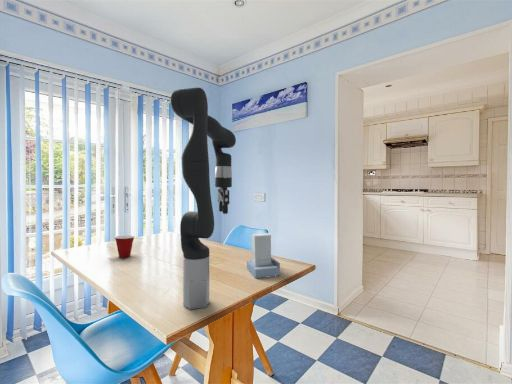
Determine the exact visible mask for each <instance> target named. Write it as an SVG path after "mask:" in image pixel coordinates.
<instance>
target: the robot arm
mask: <svg viewBox="0 0 512 384" xmlns="http://www.w3.org/2000/svg"><path fill="white" fill-rule="evenodd" d="M170 106H171V108H172V111H173V113H175V115H176V116H177V117H179V118H181V119H182V120H184V121H186V122H187V123H189V124H191V125H192V131H191V134H190V136H189V138H188V141H187V142H186V145H185V147H184V148H183V151H182V154H181V168H182V169H181V172H182V177H183V180H184V182H185V184H186V185H187V187H188V188H189V190H190V192H191V194H192V195H193V197H194V199H195V203H196V208H197V209H196V210H197V211H192V210H191V211H186V212H184V213H183V215H182V216H181V219H180V226H179V228H180V229H179V232H180V247H181V251H182V256H183V257H182V259H183V261H182V263H183V265H182V266H183V267H182V270H183V273H182V274H183V277H182V278H183V284H182V286H183V287H182V290H183V291H182V293H183V299H182V300H183V302H182V303H183V306H184V307H185V308H187V309H188V310H196V309H203V308H207V307H208V305H209V303H210V248H209V247H208V246H207V245H206V244H204V243H203V242H202V241H201V240H200V239H209V238H211V237H212V236H213V234H214V230H215V216H214V210H213V201H212V194H211V183H210V182H211V180H210V158H209V149H208V148H209V146H208V138H210V139H211V144H212V147H213V151H214V156H215V169H214V170H215V171H214V187H215V188H218V189H217V202H218V208H219V209H218V212H221V213H222V214H224V215H226V214H229V205H230V190H229V189H228V188H232V187H233V185H232V184H233V179H232V178H233V171H232V155H231V154H230V153H227V152H224V151H223V150H222V149H230V148H233V147H235V145H236V142H237V140H236V136H235V134H234V132H232V130H230V129H228V128H226V127H224V126H222V124H221V123H220V122H219V121H218V120H217V119H216V118H214V117H212V116H211V115H209V114H208V112H209V111H208V110H209V106H208V97H207V94H206V92H205V90H204V89H203V88H202V87H189V88H188V87H187V88H182V89H181V88H180V89H176V90H174V91H173V92H172V93H171V96H170Z"/></svg>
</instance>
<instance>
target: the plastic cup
mask: <svg viewBox="0 0 512 384" xmlns="http://www.w3.org/2000/svg"><path fill="white" fill-rule="evenodd" d="M113 237H114V239H115V243H116V249H117V253H118V257H119V258H121V259H124V258H129V257H130V256H131V254H132V248H133V243H134V239H135V238H136V236H135V235H128V234H126V235H117V236H113Z"/></svg>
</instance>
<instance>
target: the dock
mask: <svg viewBox="0 0 512 384" xmlns="http://www.w3.org/2000/svg"><path fill="white" fill-rule="evenodd" d="M280 264H281V263H280V262H279V261H277V260H276V259H275V258H273V257H272V256H271V265H263V266H255V265H254V264H253V263H252V260H247V261H246V270H249V271H248V272H249V273H250V274H251V275H252V277H254V279H261V277H265V278H268V277H267V276H274V277H276V276H275V275H280V273H281V271H280V269H281V268H280V267H281V265H280Z"/></svg>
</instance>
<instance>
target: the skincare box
mask: <svg viewBox="0 0 512 384" xmlns="http://www.w3.org/2000/svg"><path fill="white" fill-rule="evenodd" d="M251 253H252V254H251V256H252V257H251V258H252V259H251V261H252V263H253V264H254V265H255V266H263V265H271V257H272V235H271V234H270V233H268V232H261V233H252V234H251Z"/></svg>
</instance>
